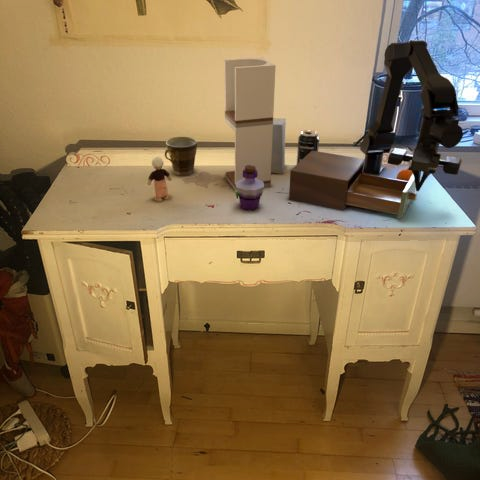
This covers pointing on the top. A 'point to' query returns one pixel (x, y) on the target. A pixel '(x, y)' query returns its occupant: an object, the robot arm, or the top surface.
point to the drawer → (381, 194)
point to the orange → (404, 175)
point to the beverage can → (307, 144)
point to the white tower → (250, 115)
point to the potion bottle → (249, 189)
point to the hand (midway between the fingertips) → (417, 190)
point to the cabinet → (324, 179)
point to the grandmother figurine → (159, 179)
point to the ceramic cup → (182, 154)
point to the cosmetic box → (278, 146)
